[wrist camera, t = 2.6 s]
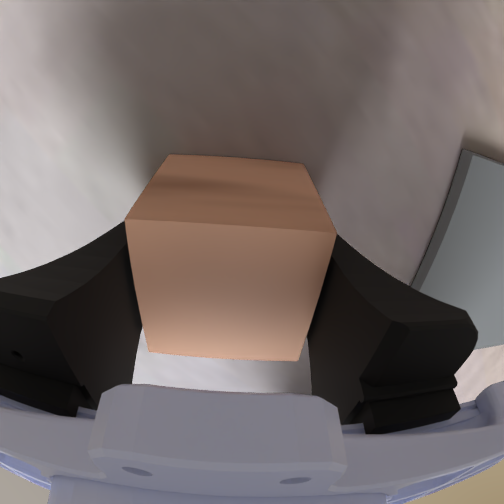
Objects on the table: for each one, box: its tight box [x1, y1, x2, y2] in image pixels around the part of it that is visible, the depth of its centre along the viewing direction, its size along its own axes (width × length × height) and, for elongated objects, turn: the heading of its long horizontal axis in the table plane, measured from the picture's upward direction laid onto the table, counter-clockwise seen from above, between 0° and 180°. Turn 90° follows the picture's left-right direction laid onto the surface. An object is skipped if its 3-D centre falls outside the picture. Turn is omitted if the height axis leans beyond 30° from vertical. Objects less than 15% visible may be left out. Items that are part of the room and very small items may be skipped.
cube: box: [125, 154, 337, 361], centre depth 11 cm, size 5×5×5 cm
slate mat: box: [411, 149, 504, 350], centre depth 14 cm, size 13×13×1 cm
